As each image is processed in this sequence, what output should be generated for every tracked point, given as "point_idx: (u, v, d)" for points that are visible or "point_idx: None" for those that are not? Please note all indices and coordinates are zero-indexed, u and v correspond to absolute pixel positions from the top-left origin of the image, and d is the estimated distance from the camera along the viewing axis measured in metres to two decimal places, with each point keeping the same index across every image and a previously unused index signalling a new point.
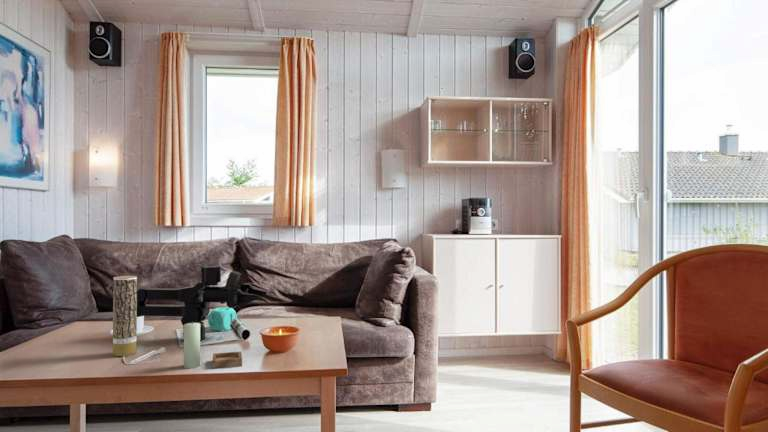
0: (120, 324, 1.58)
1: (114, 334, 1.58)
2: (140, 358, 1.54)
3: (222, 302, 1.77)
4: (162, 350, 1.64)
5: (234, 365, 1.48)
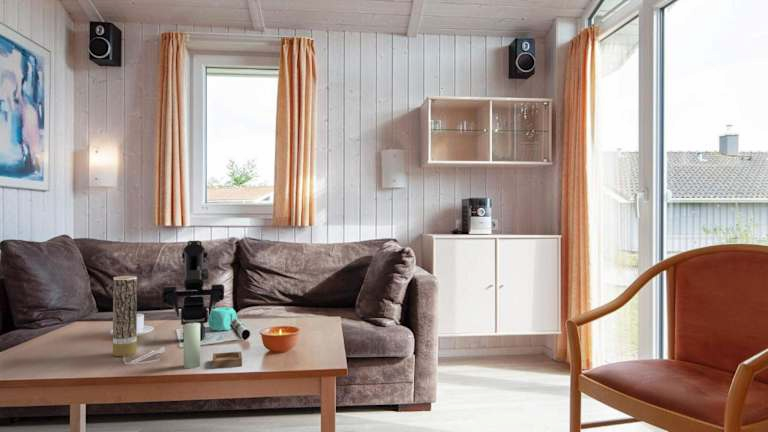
0: (120, 324, 1.58)
1: (114, 334, 1.58)
2: (140, 358, 1.54)
3: None
4: (162, 350, 1.64)
5: (234, 365, 1.48)
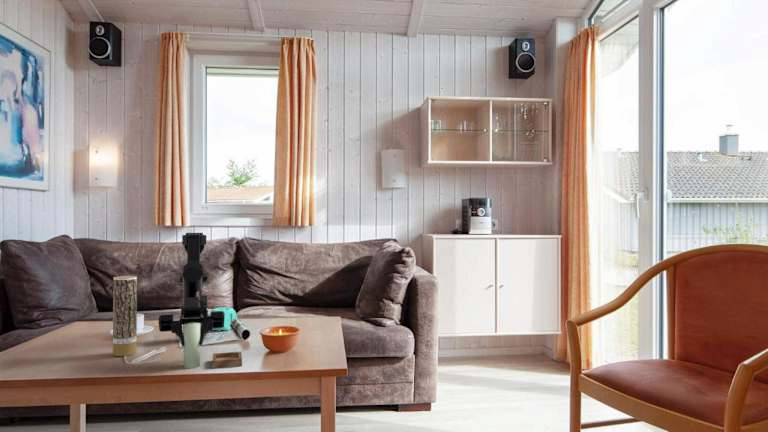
0: (120, 324, 1.58)
1: (114, 334, 1.58)
2: (141, 357, 1.55)
3: None
4: (163, 350, 1.64)
5: (234, 365, 1.48)
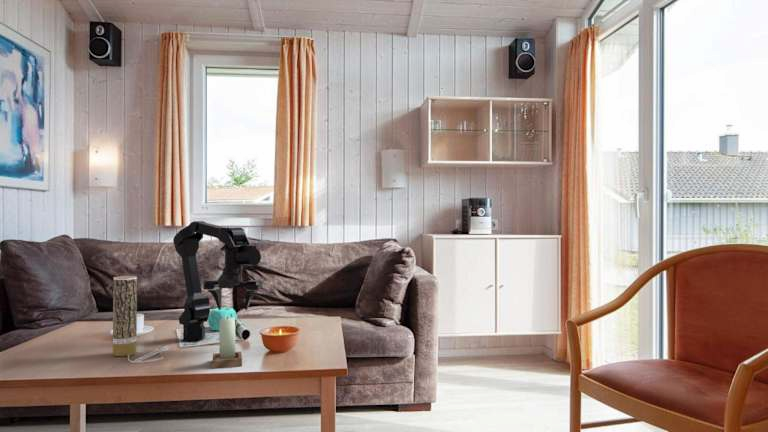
0: (120, 324, 1.58)
1: (114, 334, 1.58)
2: (144, 356, 1.56)
3: None
4: (166, 348, 1.66)
5: (234, 365, 1.48)
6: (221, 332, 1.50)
